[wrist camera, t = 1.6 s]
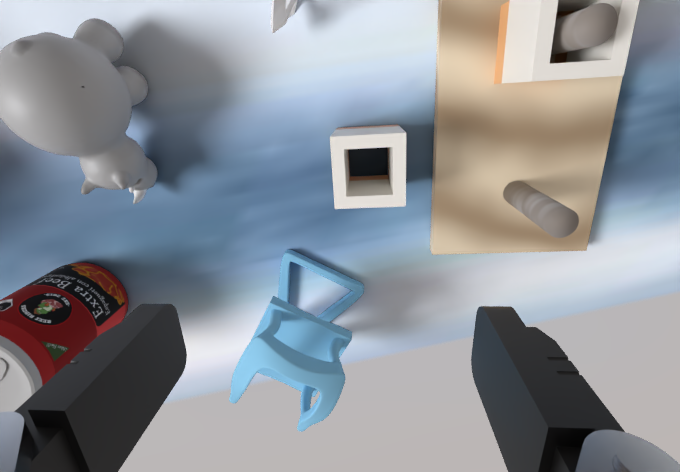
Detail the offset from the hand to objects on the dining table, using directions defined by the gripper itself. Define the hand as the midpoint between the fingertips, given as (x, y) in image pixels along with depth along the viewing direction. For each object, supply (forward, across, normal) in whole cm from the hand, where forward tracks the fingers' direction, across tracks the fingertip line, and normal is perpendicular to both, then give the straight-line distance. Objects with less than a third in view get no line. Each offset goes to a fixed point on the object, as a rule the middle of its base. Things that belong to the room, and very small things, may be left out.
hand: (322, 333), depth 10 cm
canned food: (+21, +25, +11) cm, 35 cm away
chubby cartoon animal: (+21, +18, -5) cm, 28 cm away
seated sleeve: (+19, -12, -9) cm, 24 cm away
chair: (+21, +4, +12) cm, 24 cm away
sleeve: (+21, -1, -1) cm, 21 cm away
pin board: (+21, -12, -4) cm, 24 cm away
